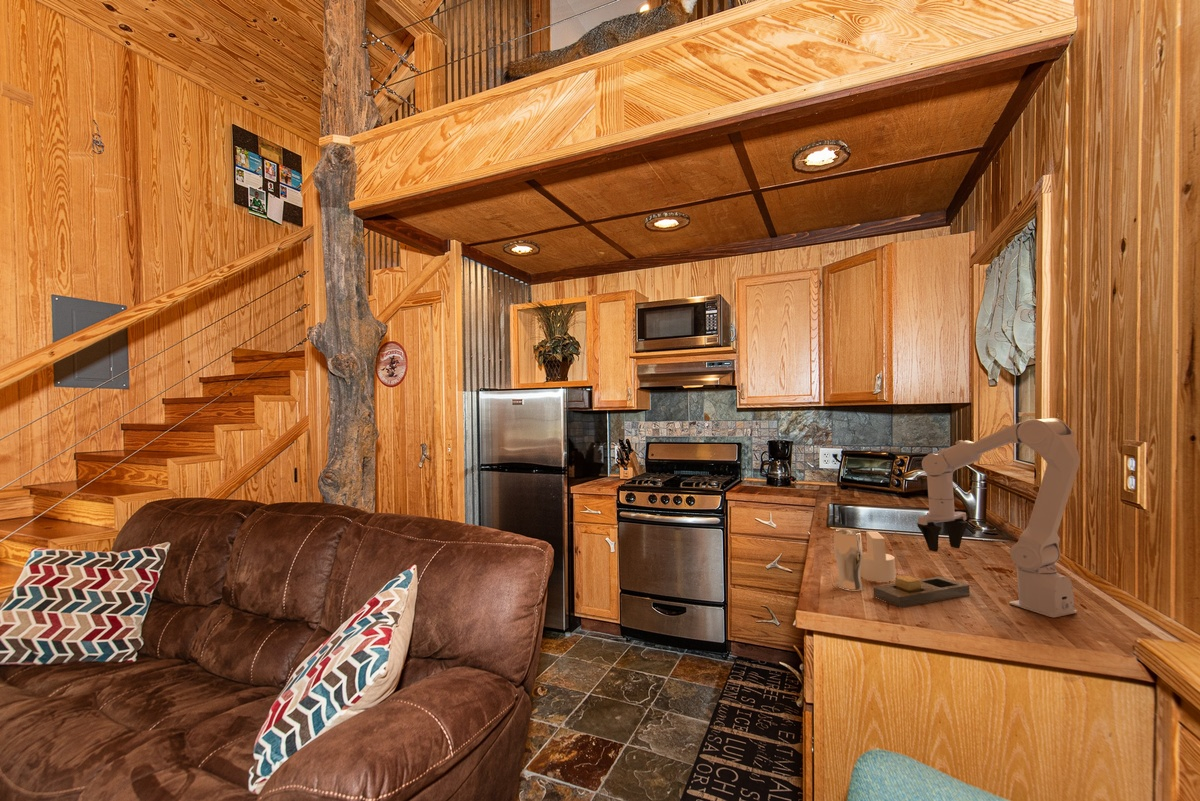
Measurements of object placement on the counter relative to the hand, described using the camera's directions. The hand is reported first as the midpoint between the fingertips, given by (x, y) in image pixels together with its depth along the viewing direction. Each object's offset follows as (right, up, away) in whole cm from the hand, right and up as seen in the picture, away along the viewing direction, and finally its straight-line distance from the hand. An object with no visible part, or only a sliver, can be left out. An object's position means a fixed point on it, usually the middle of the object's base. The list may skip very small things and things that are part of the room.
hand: (944, 549), depth 140 cm
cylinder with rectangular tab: (-13, -11, +8) cm, 19 cm away
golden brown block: (-15, -10, -9) cm, 20 cm away
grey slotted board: (-11, -10, -8) cm, 17 cm away
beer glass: (-25, -11, +1) cm, 27 cm away
